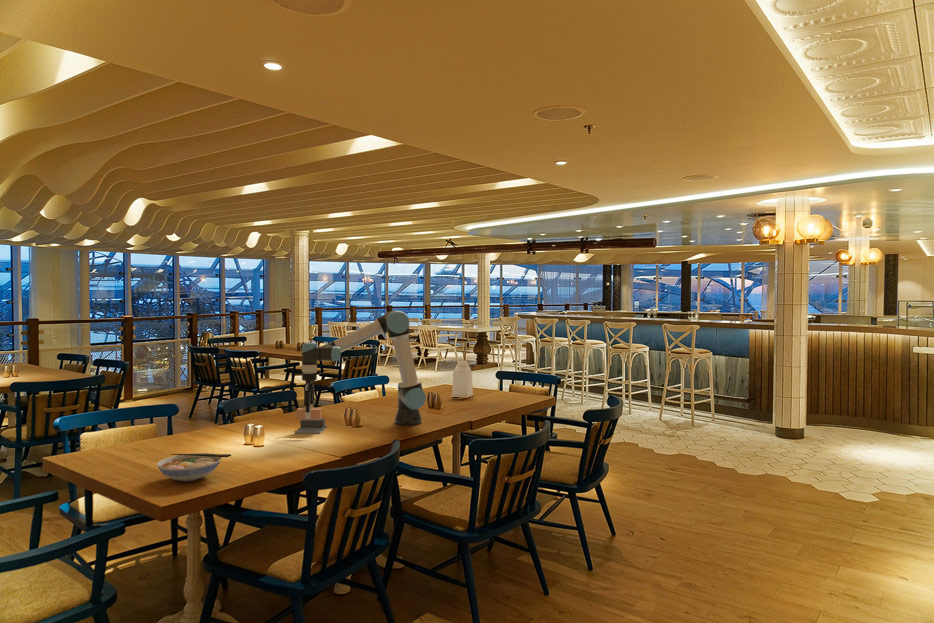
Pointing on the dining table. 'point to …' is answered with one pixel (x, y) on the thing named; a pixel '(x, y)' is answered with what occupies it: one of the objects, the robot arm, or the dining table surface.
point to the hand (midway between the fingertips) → (309, 417)
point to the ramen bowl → (189, 465)
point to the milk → (462, 380)
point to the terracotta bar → (314, 413)
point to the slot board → (310, 430)
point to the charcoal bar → (312, 423)
